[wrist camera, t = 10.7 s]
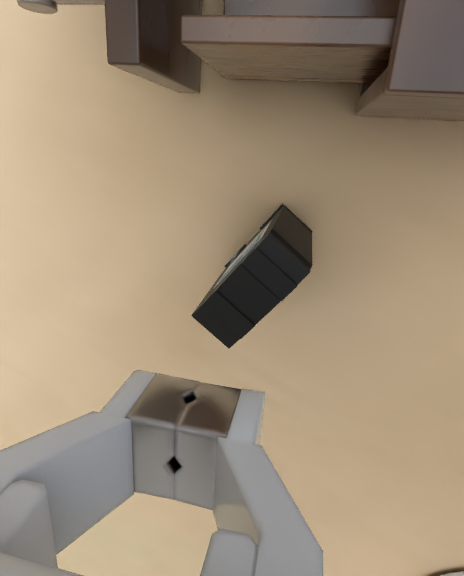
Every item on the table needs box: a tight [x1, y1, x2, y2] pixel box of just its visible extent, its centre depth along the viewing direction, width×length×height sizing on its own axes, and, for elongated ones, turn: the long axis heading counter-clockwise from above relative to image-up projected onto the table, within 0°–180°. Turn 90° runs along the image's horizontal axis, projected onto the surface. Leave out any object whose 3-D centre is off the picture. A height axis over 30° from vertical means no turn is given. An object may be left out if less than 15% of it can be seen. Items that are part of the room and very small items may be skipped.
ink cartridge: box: [192, 204, 312, 348], centre depth 19 cm, size 5×2×8 cm, turn 139°
